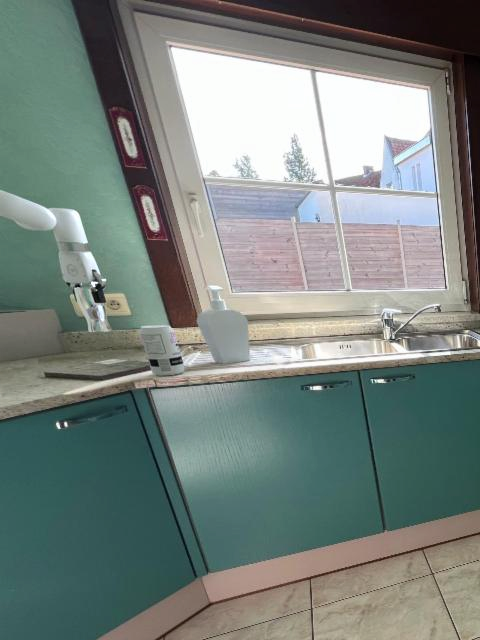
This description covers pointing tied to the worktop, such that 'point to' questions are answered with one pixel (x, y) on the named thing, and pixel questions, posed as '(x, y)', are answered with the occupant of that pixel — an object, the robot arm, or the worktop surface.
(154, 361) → the supplement can
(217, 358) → the soap bottle
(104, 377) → the grid board
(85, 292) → the beer glass
